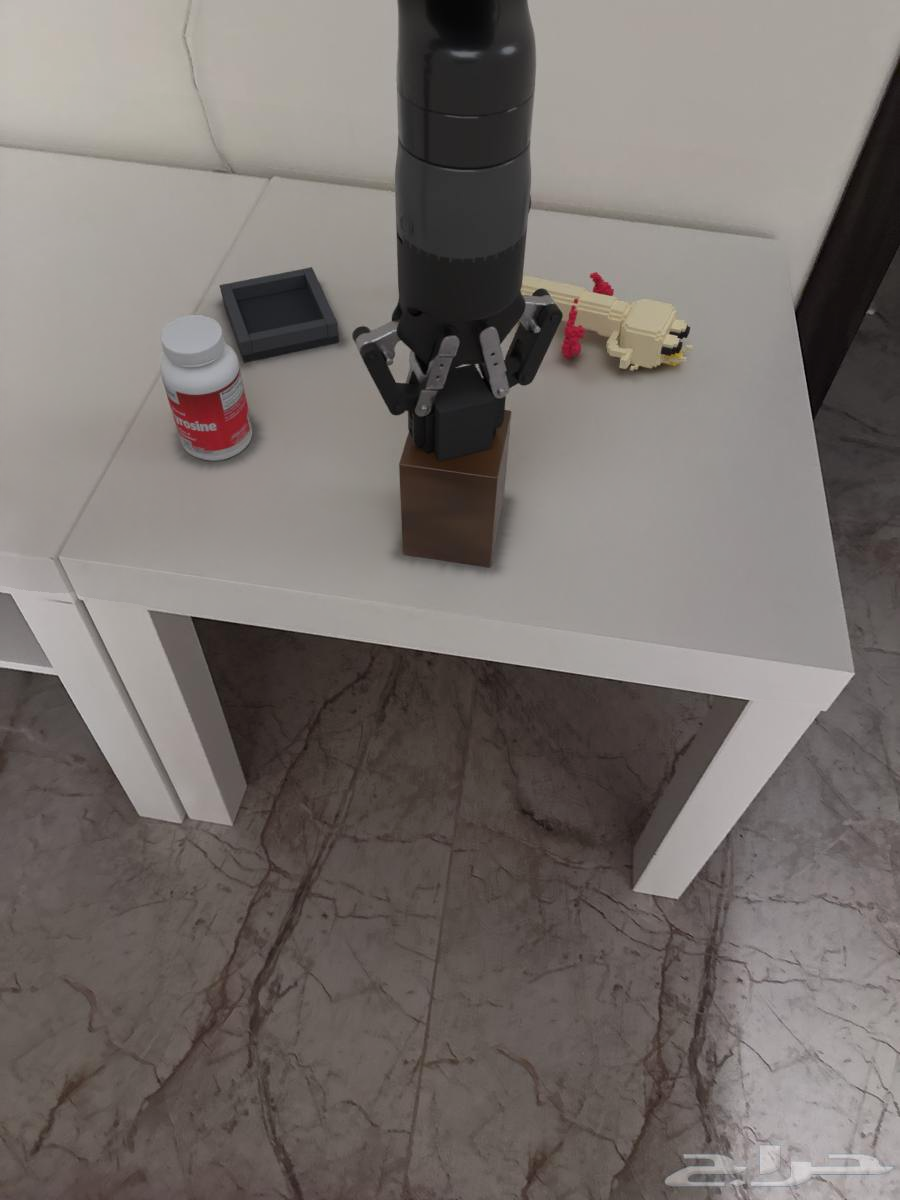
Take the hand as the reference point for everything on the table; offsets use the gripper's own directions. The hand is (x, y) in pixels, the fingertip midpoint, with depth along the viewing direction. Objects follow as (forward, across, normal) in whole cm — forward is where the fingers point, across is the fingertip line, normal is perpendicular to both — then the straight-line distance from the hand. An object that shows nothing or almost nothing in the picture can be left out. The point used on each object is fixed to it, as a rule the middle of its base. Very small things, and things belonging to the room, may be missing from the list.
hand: (455, 435), depth 66 cm
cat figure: (+10, -18, -20) cm, 29 cm away
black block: (0, 0, 0) cm, 0 cm away
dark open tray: (+10, +7, -30) cm, 32 cm away
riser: (+10, 0, 0) cm, 10 cm away
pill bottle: (+10, +16, -16) cm, 25 cm away
